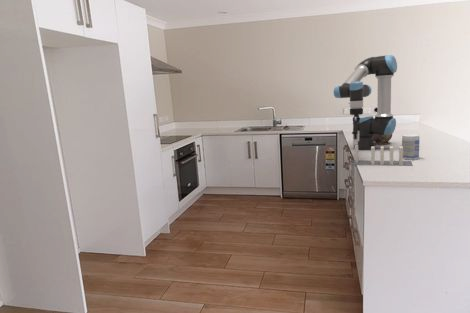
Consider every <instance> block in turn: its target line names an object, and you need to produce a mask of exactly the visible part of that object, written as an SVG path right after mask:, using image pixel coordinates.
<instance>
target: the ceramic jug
mask: <svg viewBox="0 0 470 313" xmlns="http://www.w3.org/2000/svg"><path fill="white" fill-rule="evenodd" d="M373 111H374V112H375V113H377V107H375V108H374V110H373ZM392 137H393V133H392V134H391V135H375V134H373V139H374V142H375V145H387V144H389V142H390V141H391V139H392Z"/></svg>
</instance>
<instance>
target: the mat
mask: <svg viewBox="0 0 470 313" xmlns="http://www.w3.org/2000/svg"><path fill="white" fill-rule="evenodd" d="M349 166H372V165H371V159H370V160H366V159H365V160H364V159H363V160H360V159H358V162H355V159H354V160H353V159H351V160H350V162H349ZM373 166H386V167H389V166H390V167H391V166H392V167H394V166H395V167H413V166H414V165H413V162H412V160H403V165H399V160H393V165H390V160H384V165H380V160H375V164H374V165H373Z"/></svg>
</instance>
